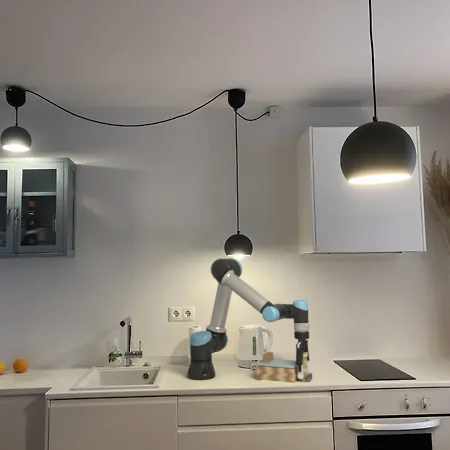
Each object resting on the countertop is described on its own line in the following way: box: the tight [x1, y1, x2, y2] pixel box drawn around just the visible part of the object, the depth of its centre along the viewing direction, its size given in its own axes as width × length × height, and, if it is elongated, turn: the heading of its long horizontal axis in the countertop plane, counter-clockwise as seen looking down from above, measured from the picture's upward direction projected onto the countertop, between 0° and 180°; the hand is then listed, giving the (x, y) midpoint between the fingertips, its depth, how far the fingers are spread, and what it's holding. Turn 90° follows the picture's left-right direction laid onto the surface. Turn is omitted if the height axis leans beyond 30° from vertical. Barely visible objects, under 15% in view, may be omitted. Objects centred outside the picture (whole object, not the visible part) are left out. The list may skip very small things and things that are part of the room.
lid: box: [256, 351, 297, 368], centre depth 233 cm, size 20×13×5 cm, turn 64°
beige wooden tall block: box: [298, 352, 309, 382], centre depth 227 cm, size 4×4×14 cm
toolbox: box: [256, 365, 313, 384], centre depth 231 cm, size 26×13×7 cm, turn 64°
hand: (303, 376), depth 227 cm, fingers open, 9 cm apart
